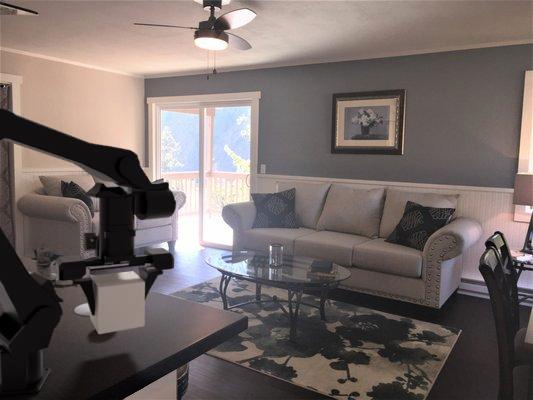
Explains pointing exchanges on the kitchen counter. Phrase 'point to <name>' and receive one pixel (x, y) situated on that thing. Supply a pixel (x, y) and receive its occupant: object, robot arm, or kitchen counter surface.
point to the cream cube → (118, 302)
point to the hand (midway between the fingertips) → (116, 311)
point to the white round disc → (83, 310)
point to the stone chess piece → (45, 264)
